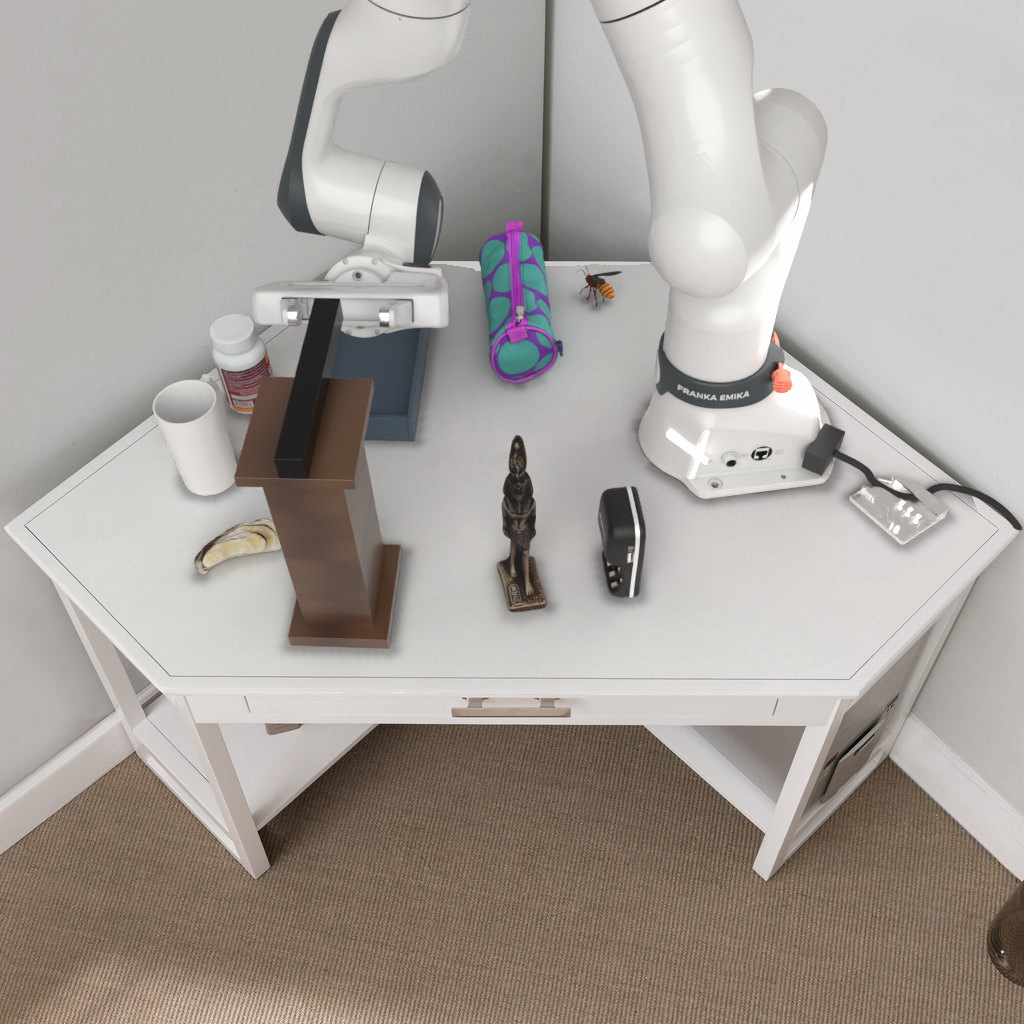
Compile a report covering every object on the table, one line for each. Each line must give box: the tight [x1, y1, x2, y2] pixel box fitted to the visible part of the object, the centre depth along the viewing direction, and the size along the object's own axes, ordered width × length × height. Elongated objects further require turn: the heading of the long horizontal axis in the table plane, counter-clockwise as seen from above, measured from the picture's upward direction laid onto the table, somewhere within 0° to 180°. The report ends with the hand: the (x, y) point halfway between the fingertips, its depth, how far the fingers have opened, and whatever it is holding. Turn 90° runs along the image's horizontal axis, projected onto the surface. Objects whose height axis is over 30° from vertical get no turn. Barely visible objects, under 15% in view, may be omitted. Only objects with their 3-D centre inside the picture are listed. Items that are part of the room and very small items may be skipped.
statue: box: [496, 434, 548, 613], centre depth 104 cm, size 4×7×20 cm, turn 13°
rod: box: [274, 298, 344, 479], centre depth 93 cm, size 2×20×2 cm, turn 177°
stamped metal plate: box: [848, 475, 950, 546], centre depth 117 cm, size 8×7×2 cm
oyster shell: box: [193, 517, 282, 576], centre depth 115 cm, size 6×4×10 cm
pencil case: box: [478, 220, 564, 384], centre depth 134 cm, size 21×9×10 cm, turn 5°
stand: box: [234, 376, 403, 649], centre depth 102 cm, size 10×12×26 cm
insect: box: [575, 266, 623, 307], centre depth 139 cm, size 4×6×5 cm, turn 40°
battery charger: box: [597, 485, 647, 598], centre depth 108 cm, size 7×4×11 cm, turn 6°
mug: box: [152, 373, 238, 497], centre depth 119 cm, size 10×7×12 cm, turn 168°
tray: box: [330, 328, 432, 442], centre depth 132 cm, size 13×25×4 cm, turn 177°
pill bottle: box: [209, 313, 275, 415], centre depth 126 cm, size 6×6×11 cm
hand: (338, 318), depth 103 cm, fingers open, 8 cm apart
